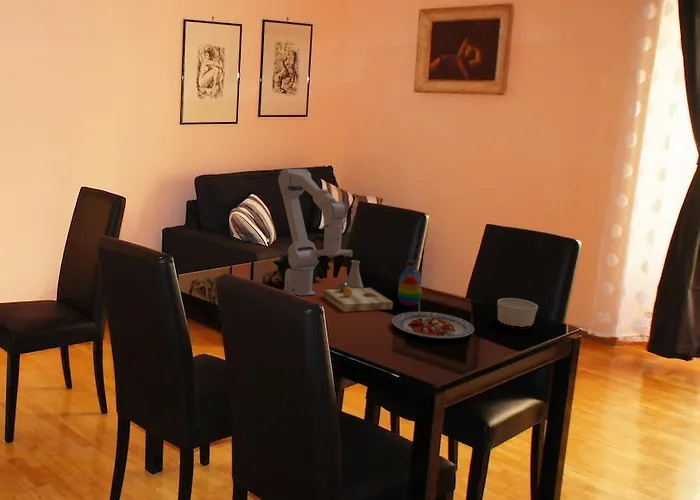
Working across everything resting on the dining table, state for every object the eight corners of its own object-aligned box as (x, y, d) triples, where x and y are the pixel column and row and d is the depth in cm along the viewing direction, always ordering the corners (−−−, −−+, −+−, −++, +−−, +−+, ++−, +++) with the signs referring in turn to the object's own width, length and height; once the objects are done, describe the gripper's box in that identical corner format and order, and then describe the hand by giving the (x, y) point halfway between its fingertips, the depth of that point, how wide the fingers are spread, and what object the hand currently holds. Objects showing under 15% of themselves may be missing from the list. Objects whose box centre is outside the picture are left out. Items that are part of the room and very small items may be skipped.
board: (343, 311, 266) (344, 304, 266) (323, 296, 282) (323, 289, 282) (392, 309, 274) (392, 301, 273) (369, 294, 290) (370, 287, 289)
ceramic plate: (379, 319, 262) (380, 310, 261) (449, 316, 271) (450, 308, 270) (412, 346, 238) (413, 336, 237) (488, 342, 247) (489, 332, 247)
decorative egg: (425, 305, 281) (427, 277, 279) (408, 308, 276) (410, 280, 274) (409, 299, 287) (411, 272, 285) (392, 302, 282) (394, 274, 280)
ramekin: (536, 321, 273) (539, 301, 272) (534, 332, 261) (537, 311, 259) (497, 315, 276) (499, 295, 275) (493, 325, 264) (495, 305, 262)
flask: (363, 290, 294) (365, 264, 292) (343, 289, 294) (345, 262, 292) (363, 285, 301) (365, 259, 299) (343, 284, 301) (346, 258, 299)
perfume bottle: (397, 293, 295) (400, 261, 292) (404, 289, 300) (407, 258, 298) (413, 296, 292) (416, 264, 290) (420, 292, 298) (423, 261, 295)
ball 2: (344, 297, 274) (345, 288, 273) (341, 295, 277) (341, 286, 276) (353, 297, 275) (354, 288, 274) (349, 294, 278) (350, 285, 277)
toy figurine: (318, 280, 311) (263, 280, 295) (325, 232, 308) (270, 230, 292) (332, 286, 303) (277, 287, 288) (339, 237, 300) (284, 235, 285)
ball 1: (340, 292, 280) (341, 283, 279) (337, 290, 282) (337, 281, 282) (349, 292, 281) (349, 283, 280) (345, 290, 284) (346, 281, 283)
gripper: (316, 240, 262) (314, 281, 265) (357, 240, 268) (354, 279, 271) (309, 236, 268) (306, 275, 271) (348, 235, 274) (345, 274, 277)
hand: (329, 277), depth 272 cm, fingers open, 3 cm apart
